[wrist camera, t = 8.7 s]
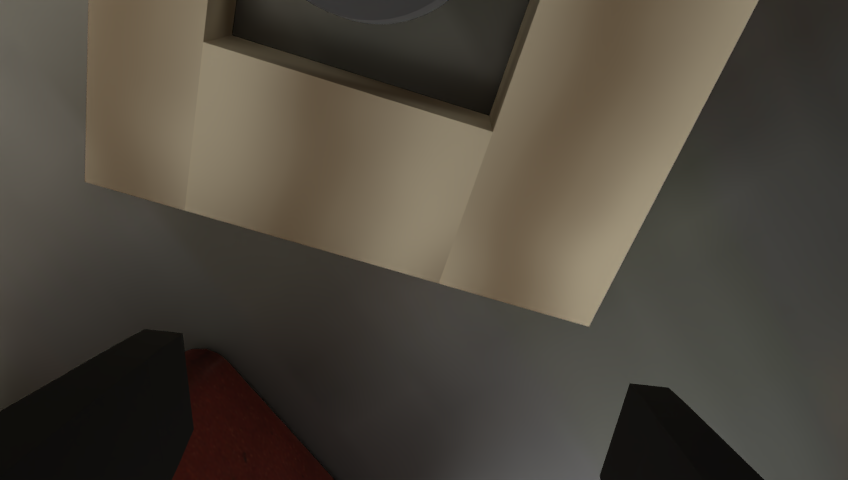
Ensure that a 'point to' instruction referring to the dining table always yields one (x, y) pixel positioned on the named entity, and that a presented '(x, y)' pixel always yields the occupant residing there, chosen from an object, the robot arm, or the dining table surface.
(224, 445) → the plant pot
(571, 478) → the dining table surface
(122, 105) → the wooden picture frame
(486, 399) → the dining table surface
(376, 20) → the grooved grey cylinder
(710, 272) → the dining table surface
